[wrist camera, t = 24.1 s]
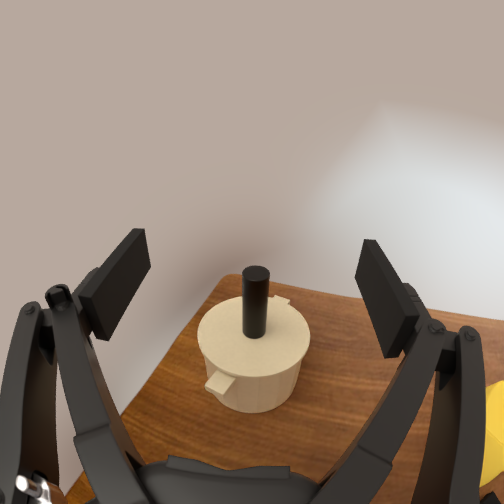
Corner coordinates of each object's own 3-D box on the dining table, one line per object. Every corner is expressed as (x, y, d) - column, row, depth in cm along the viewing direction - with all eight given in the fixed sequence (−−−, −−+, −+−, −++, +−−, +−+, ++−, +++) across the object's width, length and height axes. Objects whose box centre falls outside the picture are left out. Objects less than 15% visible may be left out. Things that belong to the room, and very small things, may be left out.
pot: (180, 401, 34) (166, 361, 29) (244, 325, 47) (244, 281, 43) (263, 443, 29) (267, 412, 24) (313, 350, 42) (324, 306, 38)
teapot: (471, 513, 12) (538, 479, 6) (388, 439, 27) (435, 388, 21) (510, 447, 19) (562, 400, 12) (438, 385, 33) (477, 329, 27)
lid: (176, 350, 31) (161, 286, 26) (234, 290, 41) (233, 232, 37) (281, 400, 26) (293, 340, 21) (322, 320, 36) (336, 259, 31)
